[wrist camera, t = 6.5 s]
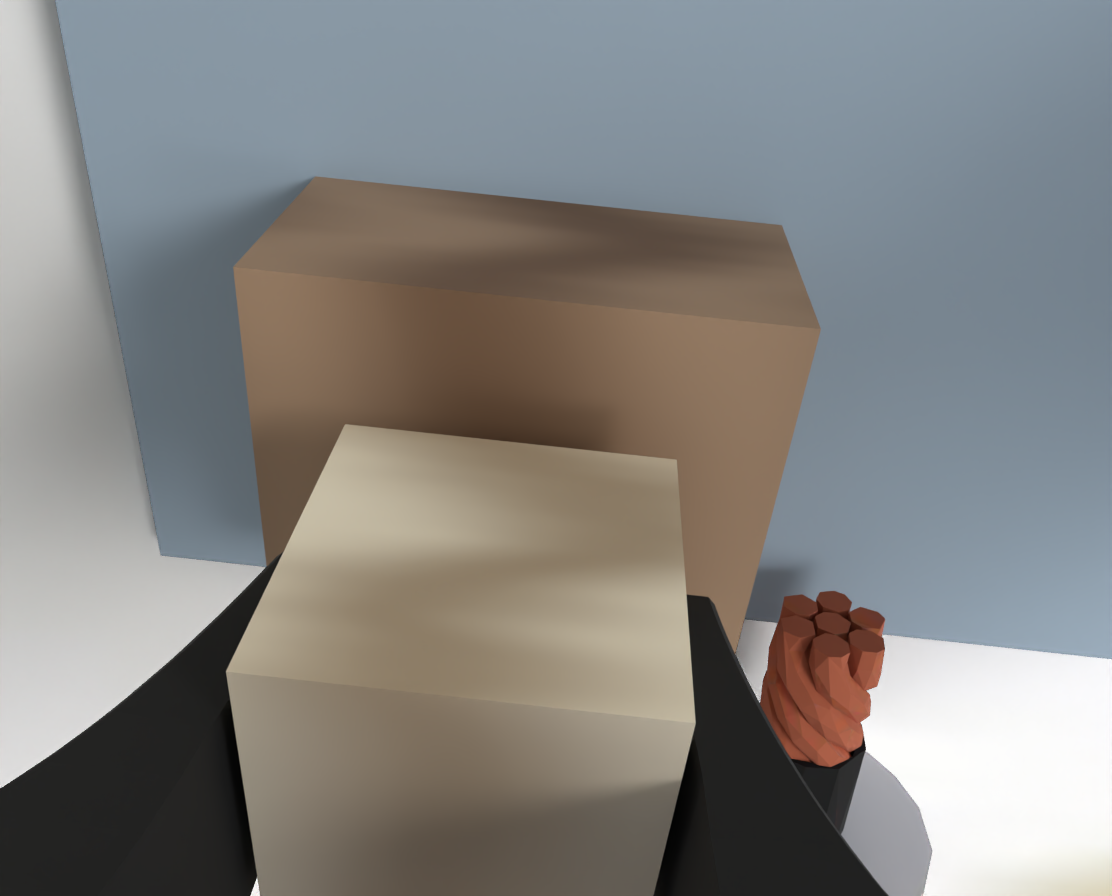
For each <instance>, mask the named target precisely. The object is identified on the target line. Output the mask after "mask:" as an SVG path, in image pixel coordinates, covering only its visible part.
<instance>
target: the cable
mask: <svg viewBox="0 0 1112 896" xmlns="http://www.w3.org/2000/svg"><path fill="white" fill-rule="evenodd" d="M851 605H852V602H851V601H850V600H849V599H848V597H847V596H846V595H845V594H842V593H839V592H836V591H825V592H820V593H819V594H818V596H817V598H816V602H815V601H813V600H811V599H810V598H808V597H806V596H804V595H803V594H800V595H793V596H785V597H784V600H783V605H782V610H781V614H780V618H779V621H778V624H777V627H776V630H775V632H774V635H773V638H772V641H771V644H770V646H769V656H768V668H767V671H766V674H765V677H764V679H763V685H762V693H761V702H760V705H761V707H762V709H763V711H764V713H765V714H766V716H767V718H768V720H769V722H770V724H771V726H772V727H773V729H774V731H775V733H776V735H777V736H778V738H779V740H780V741H781V743H782V745H783V747H784V748H785V750H786V752H787V753H788V755H789V757H790V758H791V760H792V762H793V763H794V765H795V766H796V768H797V770H798V771H799V773H800V775H801V776H802V778H803V779H804V781H805V783H806V784H807V786H808V787H809V789H810V790H811V792H812V793H813V795H814V796H815V798H816V799H817V801H818V802H819V804H820V805H821V807H822V808H823V810H824V811H825V813H826V814H827V816H828V817H829V818H830V820H831V821H832V823H833V824H834V825H835V827H836V828H837V830H838V831H839V832H840V834H841V835H842V836H843V838H844V839H845V841H846V842H847V843H848V845H849V846H850V847H851V849H852V850H853V851H854V853H855V854H856V855H857V857H858V858H859V859H860V860H861V862H862V863H863V864H864V866H865V867H866V868H867V869H868V871H869V872H870V873H871V875H872V876H873V877H874V879H875V880H876V881H877V882H878V884H879V885H880V886H881V887H882V888H883V890H884V891H885V892H886V893H887V894H888V895H889V896H923V893H924V888H925V884H926V879H927V874H928V869H929V865H930V860H931V855H932V848H931V845H930V842H929V839H928V835H927V832H926V829H925V826H924V822H923V819H922V816H921V813H920V809H919V807H918V806H917V804H916V803H915V802H914V800H913V799H912V798H911V797H910V795H909V794H908V793H907V791H906V790H905V789H904V787H903V786H902V785H901V783H900V782H899V781H898V779H897V778H896V777H895V776H894V775H893V774H892V773H891V772H890V771H888V770H887V769H886V768H885V767H884V766H883V765H882V764H880V763H879V762H878V761H877V760H876V759H875V758H873V757H872V756H871V755H870V754H869V753H867V752H866V751H865V750H866V747H865V741H864V735H863V729H862V725H861V723H860V722H861V721H863V720H864V719H866V718H867V717H868V716H870V706H871V699H870V694H869V693H868V692H867V691H866V690H869V689H871V688H874V687H877V685H878V682H879V678H880V675H881V670H882V663H883V657H884V651H885V647H884V640H883V638H882V633H883V628H884V623H885V618H884V617H883V616H882V615H881V614H880V613H879V612H876V611H873V610H870V609H866V608H863V607H859V608H857V609H854V610H852V611H850V609H851Z"/></svg>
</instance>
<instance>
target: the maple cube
mask: <svg viewBox="0 0 1112 896" xmlns="http://www.w3.org/2000/svg"><path fill="white" fill-rule="evenodd" d="M226 676H227V682H228V689H229V695H230V702H231V708H232V715H233V721H234V728H235V734H236V741H237V747H238V754H239V760H240V767H241V773H242V780H243V786H244V793H245V799H246V806H247V813H248V819H249V826H250V832H251V839H252V845H253V852H254V858H255V865H256V871H257V878H258V884H259V891H260V896H653V895H654V891H655V887H656V883H657V879H658V875H659V871H660V867H661V862H662V858H663V854H664V850H665V846H666V842H667V838H668V834H669V830H670V826H671V822H672V818H673V814H674V810H675V805H676V801H677V797H678V793H679V789H680V785H681V781H682V777H683V773H684V769H685V765H686V761H687V757H688V752H689V748H690V744H691V740H692V736H693V732H694V728H695V724H696V721H695V707H694V693H693V679H692V665H691V651H690V637H689V623H688V609H687V595H686V581H685V567H684V553H683V539H682V526H681V512H680V498H679V484H678V470H677V460H675V459H666V458H656V457H647V456H638V455H628V454H619V453H610V452H600V451H591V450H582V449H572V448H563V447H554V446H544V445H535V444H526V443H517V442H507V441H498V440H489V439H479V438H470V437H461V436H451V435H442V434H433V433H423V432H414V431H405V430H395V429H386V428H377V427H367V426H358V425H349V424H345V425H344V427H343V429H342V432H341V434H340V436H339V438H338V440H337V442H336V444H335V446H334V448H333V450H332V452H331V454H330V456H329V459H328V461H327V463H326V465H325V467H324V469H323V471H322V473H321V475H320V477H319V479H318V481H317V483H316V486H315V488H314V490H313V492H312V494H311V496H310V498H309V500H308V502H307V504H306V506H305V508H304V510H303V513H302V515H301V517H300V519H299V521H298V523H297V525H296V527H295V529H294V531H293V533H292V535H291V537H290V540H289V542H288V544H287V546H286V548H285V550H284V552H283V554H282V556H281V558H280V560H279V562H278V564H277V566H276V569H275V571H274V573H273V575H272V577H271V579H270V581H269V583H268V585H267V587H266V589H265V591H264V593H263V596H262V598H261V600H260V602H259V604H258V606H257V608H256V610H255V612H254V614H253V616H252V618H251V620H250V623H249V625H248V627H247V629H246V631H245V633H244V635H243V637H242V639H241V641H240V643H239V645H238V647H237V650H236V652H235V654H234V656H233V658H232V660H231V662H230V664H229V666H228V668H227V670H226Z"/></svg>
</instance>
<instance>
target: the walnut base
mask: <svg viewBox="0 0 1112 896" xmlns="http://www.w3.org/2000/svg"><path fill="white" fill-rule="evenodd" d="M233 271H234V280H235V288H236V297H237V306H238V315H239V324H240V333H241V342H242V351H243V360H244V369H245V378H246V387H247V396H248V405H249V414H250V423H251V432H252V441H253V450H254V459H255V468H256V477H257V486H258V495H259V504H260V513H261V522H262V531H263V540H264V549H265V558H266V567H267V566H268V565H269V564H270V563H271V562H272V561H273V560H274V559H275V558H276V557H277V556H278V555H279V554H281V553H282V552H283V551H284V550H285V548H286V546H287V544H288V542H289V540H290V537H291V535H292V533H293V531H294V529H295V527H296V525H297V523H298V521H299V519H300V517H301V515H302V513H303V510H304V508H305V506H306V504H307V502H308V500H309V498H310V496H311V494H312V492H313V490H314V488H315V486H316V483H317V481H318V479H319V477H320V475H321V473H322V471H323V469H324V467H325V465H326V463H327V461H328V459H329V456H330V454H331V452H332V450H333V448H334V446H335V444H336V442H337V440H338V438H339V436H340V434H341V432H342V429H343V427H344V425H345V424H349V425H358V426H367V427H377V428H386V429H395V430H405V431H414V432H423V433H433V434H442V435H451V436H461V437H470V438H479V439H489V440H498V441H507V442H517V443H526V444H535V445H544V446H554V447H563V448H572V449H582V450H591V451H600V452H610V453H619V454H628V455H638V456H647V457H656V458H666V459H675V460H677V470H678V484H679V498H680V512H681V526H682V539H683V553H684V567H685V581H686V594H687V595H696V596H705V597H709V598H710V599H711V601H712V602H713V603H714V604H715V607H716V609H717V612H718V615H719V617H720V620H721V622H722V625H723V627H724V630H725V632H726V635H727V637H728V639H729V642H730V644H731V646H732V648H733V651H734V653H736V649H737V645H738V641H739V638H740V634H741V630H742V626H743V622H744V619H745V615H746V611H747V607H748V604H749V600H750V596H751V592H752V588H753V585H754V581H755V577H756V573H757V569H758V566H759V562H760V558H761V554H762V551H763V547H764V543H765V539H766V535H767V532H768V528H769V524H770V520H771V516H772V513H773V509H774V505H775V501H776V498H777V494H778V490H779V486H780V482H781V479H782V475H783V471H784V467H785V463H786V460H787V456H788V452H789V448H790V445H791V441H792V437H793V433H794V429H795V426H796V422H797V418H798V414H799V410H800V407H801V403H802V399H803V395H804V391H805V388H806V384H807V380H808V376H809V373H810V369H811V365H812V361H813V357H814V354H815V350H816V346H817V342H818V338H819V335H820V331H821V328H820V325H819V323H818V320H817V317H816V315H815V312H814V309H813V307H812V304H811V301H810V299H809V296H808V293H807V291H806V288H805V285H804V283H803V280H802V277H801V275H800V272H799V269H798V267H797V264H796V261H795V259H794V256H793V253H792V251H791V248H790V245H789V243H788V240H787V237H786V235H785V232H784V229H783V227H782V225H775V224H766V223H756V222H746V221H737V220H727V219H718V218H708V217H699V216H689V215H680V214H670V213H661V212H651V211H641V210H632V209H622V208H613V207H603V206H594V205H584V204H575V203H565V202H555V201H546V200H536V199H527V198H517V197H508V196H498V195H489V194H479V193H470V192H460V191H450V190H441V189H431V188H422V187H412V186H403V185H393V184H384V183H374V182H364V181H355V180H345V179H336V178H326V177H317V176H315V177H314V178H313V180H312V181H311V182H310V183H309V184H308V185H307V186H306V187H305V188H304V190H303V191H302V192H301V193H300V194H299V195H298V196H297V197H296V198H295V199H294V201H293V202H292V203H291V204H290V205H289V206H288V207H287V208H286V209H285V210H284V212H283V213H282V214H281V215H280V216H279V217H278V218H277V219H276V220H275V221H274V223H273V224H272V225H271V226H270V227H269V228H268V229H267V230H266V231H265V232H264V234H263V235H262V236H261V237H260V238H259V239H258V240H257V241H256V242H255V243H254V245H253V246H252V247H251V248H250V249H249V250H248V251H247V252H246V253H245V255H244V256H243V257H242V258H241V259H240V260H239V261H238V262H237V263H236V264H235V266H234V267H233Z"/></svg>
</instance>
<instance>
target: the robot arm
mask: <svg viewBox="0 0 1112 896" xmlns="http://www.w3.org/2000/svg"><path fill="white" fill-rule="evenodd" d="M283 552H284V551H283ZM283 552H282V553H281V554H279V555H278V556H277V557H276V558H275V559H274V560H273V561H272V562H271V563H270V564H269V565H268V566H267V567H266V568H265V569H264V570H263V571H262V572H261V573H260V574H259V575H258V576H257V577H256V578H255V579H254V580H253V581H252V583H251V584H250V585H249V586H248V587H247V588H246V589H245V590H244V591H243V592H242V593H241V594H240V595H239V596H238V597H237V598H236V599H235V600H234V601H233V602H232V603H231V604H230V605H229V606H228V607H227V608H226V609H225V610H224V611H223V612H222V613H221V614H220V615H219V616H218V617H217V618H215V619H214V620H213V621H212V622H211V623H210V624H209V625H208V626H207V627H206V628H205V629H204V630H203V631H202V632H201V633H200V634H198V635H197V636H196V637H195V638H194V639H193V640H192V641H191V642H190V643H189V644H188V645H187V646H186V647H185V648H184V649H182V650H181V651H180V652H179V653H178V654H177V655H176V656H175V657H174V658H173V659H171V660H170V661H169V662H168V663H167V664H166V665H165V666H163V667H162V668H161V669H160V670H159V671H158V672H156V673H155V674H154V675H153V676H152V677H151V678H149V679H148V680H147V681H146V682H145V683H143V684H142V685H141V686H140V687H139V688H138V689H136V690H135V691H134V692H133V693H132V694H131V695H129V696H128V697H127V698H126V699H125V700H123V701H122V702H121V703H120V704H118V705H117V706H116V707H115V708H113V709H112V710H111V711H110V712H108V713H107V714H106V715H105V716H103V717H102V718H101V719H99V720H98V721H97V722H95V723H94V724H93V725H92V726H90V727H89V728H88V729H86V730H85V731H84V732H82V733H81V734H79V735H78V736H77V737H75V738H74V739H73V740H71V741H70V742H68V743H67V744H66V745H64V746H63V747H62V748H60V749H59V750H57V751H56V752H55V753H53V754H52V755H50V756H49V757H47V758H46V759H44V760H43V761H41V762H40V763H38V764H37V765H35V766H34V767H32V768H31V769H29V770H28V771H26V772H25V773H23V774H22V775H20V776H19V777H17V778H16V779H14V780H13V781H11V782H10V783H8V784H7V785H5V786H4V787H2V788H0V896H250V895H251V892H252V889H253V887H254V884H255V881H256V878H257V871H256V865H255V858H254V852H253V845H252V839H251V832H250V826H249V819H248V813H247V806H246V799H245V793H244V786H243V780H242V773H241V767H240V760H239V754H238V747H237V741H236V734H235V728H234V721H233V715H232V708H231V702H230V695H229V689H228V682H227V676H226V670H227V668H228V666H229V664H230V662H231V660H232V658H233V656H234V654H235V652H236V650H237V647H238V645H239V643H240V641H241V639H242V637H243V635H244V633H245V631H246V629H247V627H248V625H249V623H250V620H251V618H252V616H253V614H254V612H255V610H256V608H257V606H258V604H259V602H260V600H261V598H262V596H263V593H264V591H265V589H266V587H267V585H268V583H269V581H270V579H271V577H272V575H273V573H274V571H275V569H276V566H277V564H278V562H279V560H280V558H281V556H282V554H283ZM686 595H687V594H686ZM687 609H688V623H689V637H690V651H691V665H692V679H693V693H694V707H695V721H696V724H695V728H694V732H693V736H692V740H691V744H690V748H689V752H688V757H687V761H686V765H685V769H684V773H683V777H682V781H681V785H680V789H679V793H678V797H677V801H676V805H675V810H674V814H673V818H672V822H671V826H670V830H669V834H668V838H667V842H666V846H665V850H664V854H663V858H662V862H661V867H660V871H659V875H658V879H657V883H656V887H655V891H654V895H653V896H889V895H888V894H887V893H886V892H885V891H884V890H883V888H882V887H881V886H880V885H879V884H878V882H877V881H876V880H875V879H874V877H873V876H872V875H871V873H870V872H869V871H868V869H867V868H866V867H865V866H864V864H863V863H862V862H861V860H860V859H859V858H858V857H857V855H856V854H855V853H854V851H853V850H852V849H851V847H850V846H849V845H848V843H847V842H846V841H845V839H844V838H843V836H842V835H841V834H840V832H839V831H838V830H837V828H836V827H835V825H834V824H833V823H832V821H831V820H830V818H829V817H828V816H827V814H826V813H825V811H824V810H823V808H822V807H821V805H820V804H819V802H818V801H817V799H816V798H815V796H814V795H813V793H812V792H811V790H810V789H809V787H808V786H807V784H806V783H805V781H804V779H803V778H802V776H801V775H800V773H799V771H798V770H797V768H796V766H795V765H794V763H793V762H792V760H791V758H790V757H789V755H788V753H787V752H786V750H785V748H784V747H783V745H782V743H781V741H780V740H779V738H778V736H777V735H776V733H775V731H774V729H773V727H772V726H771V724H770V722H769V720H768V718H767V716H766V714H765V713H764V711H763V709H762V707H761V705H760V703H759V701H758V700H757V698H756V696H755V694H754V692H753V690H752V688H751V686H750V684H749V682H748V680H747V678H746V676H745V674H744V672H743V670H742V668H741V666H740V664H739V661H738V659H737V657H736V655H735V653H734V651H733V648H732V646H731V644H730V642H729V639H728V637H727V635H726V632H725V630H724V627H723V625H722V622H721V620H720V617H719V615H718V612H717V609H716V607H715V604H714V603H713V602H712V601H711V599H710V598H709V597H705V596H696V595H687Z"/></svg>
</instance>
